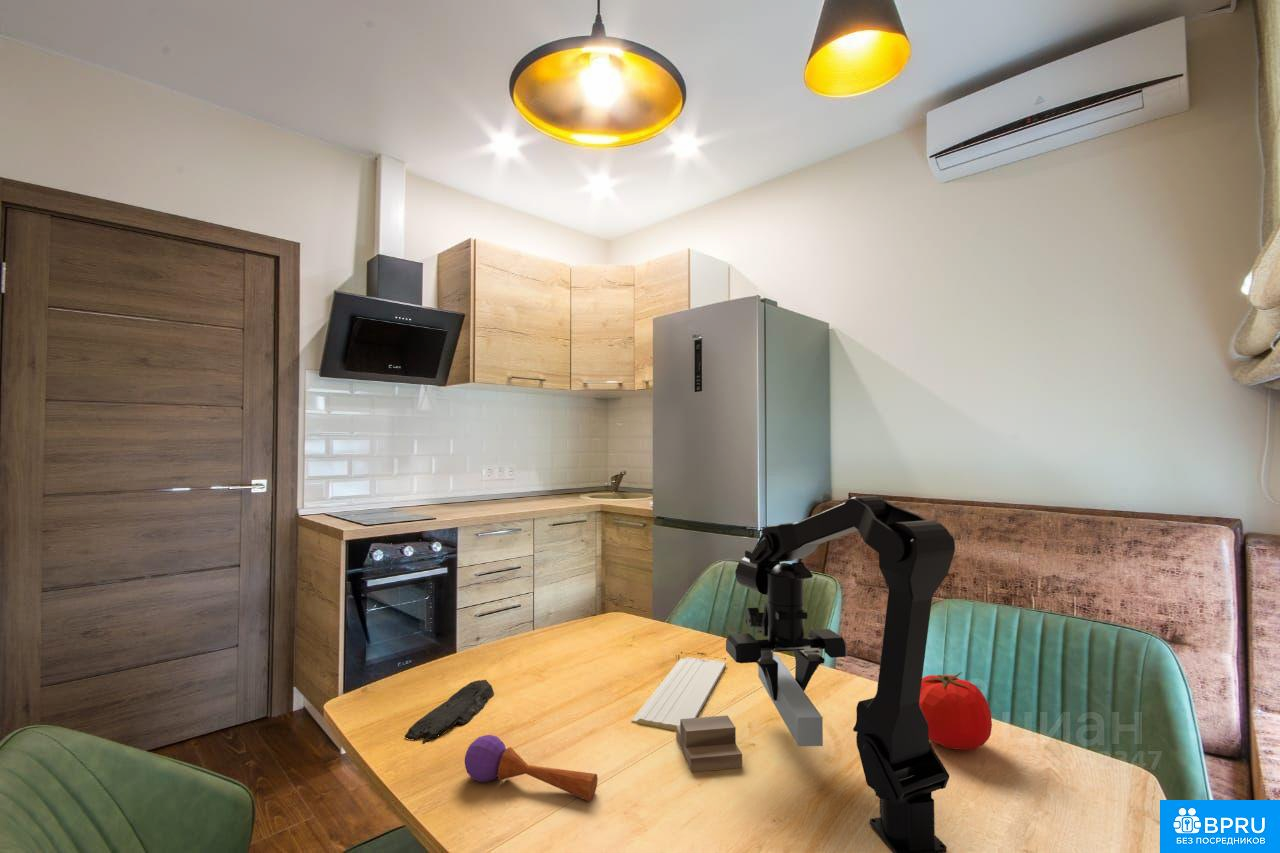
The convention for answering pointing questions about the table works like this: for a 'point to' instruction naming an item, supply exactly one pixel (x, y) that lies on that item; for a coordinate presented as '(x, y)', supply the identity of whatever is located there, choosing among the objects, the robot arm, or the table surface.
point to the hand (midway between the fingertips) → (786, 698)
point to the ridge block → (709, 743)
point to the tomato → (955, 712)
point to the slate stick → (795, 708)
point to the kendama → (522, 768)
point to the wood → (452, 711)
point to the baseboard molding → (681, 693)
